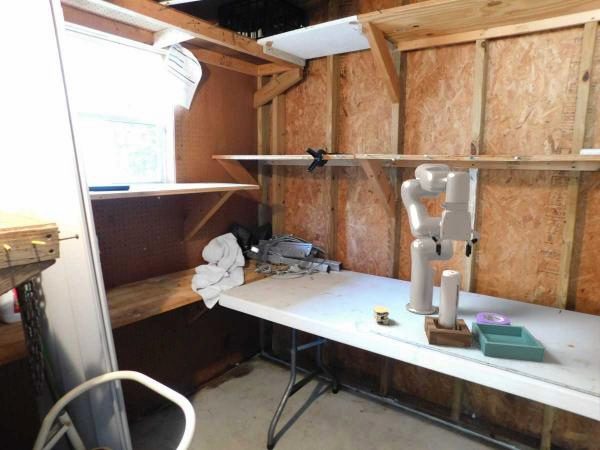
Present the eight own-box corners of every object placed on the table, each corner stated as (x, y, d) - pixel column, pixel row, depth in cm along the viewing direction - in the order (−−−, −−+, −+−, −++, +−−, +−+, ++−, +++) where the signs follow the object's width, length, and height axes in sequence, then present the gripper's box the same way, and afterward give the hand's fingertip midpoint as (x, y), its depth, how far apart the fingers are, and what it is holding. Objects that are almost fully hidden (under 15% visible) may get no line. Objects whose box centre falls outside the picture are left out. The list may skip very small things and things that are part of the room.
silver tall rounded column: (451, 333, 147) (456, 269, 144) (458, 341, 141) (464, 274, 137) (434, 333, 147) (438, 269, 143) (441, 341, 141) (446, 274, 137)
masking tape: (507, 324, 158) (508, 315, 158) (510, 335, 147) (511, 325, 147) (476, 319, 163) (476, 310, 162) (476, 329, 152) (477, 320, 151)
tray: (471, 333, 148) (472, 322, 147) (522, 337, 145) (523, 326, 144) (484, 355, 131) (485, 343, 130) (543, 361, 127) (544, 348, 127)
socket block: (424, 328, 152) (424, 316, 151) (462, 331, 150) (463, 319, 149) (429, 344, 138) (430, 330, 138) (471, 348, 136) (472, 334, 135)
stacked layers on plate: (365, 318, 162) (365, 305, 161) (385, 316, 164) (385, 304, 163) (374, 328, 152) (375, 314, 152) (396, 326, 154) (396, 313, 154)
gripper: (432, 207, 135) (429, 256, 137) (485, 209, 131) (481, 259, 134) (429, 206, 142) (426, 252, 144) (479, 207, 139) (476, 254, 141)
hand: (453, 255), depth 139 cm, fingers open, 9 cm apart
